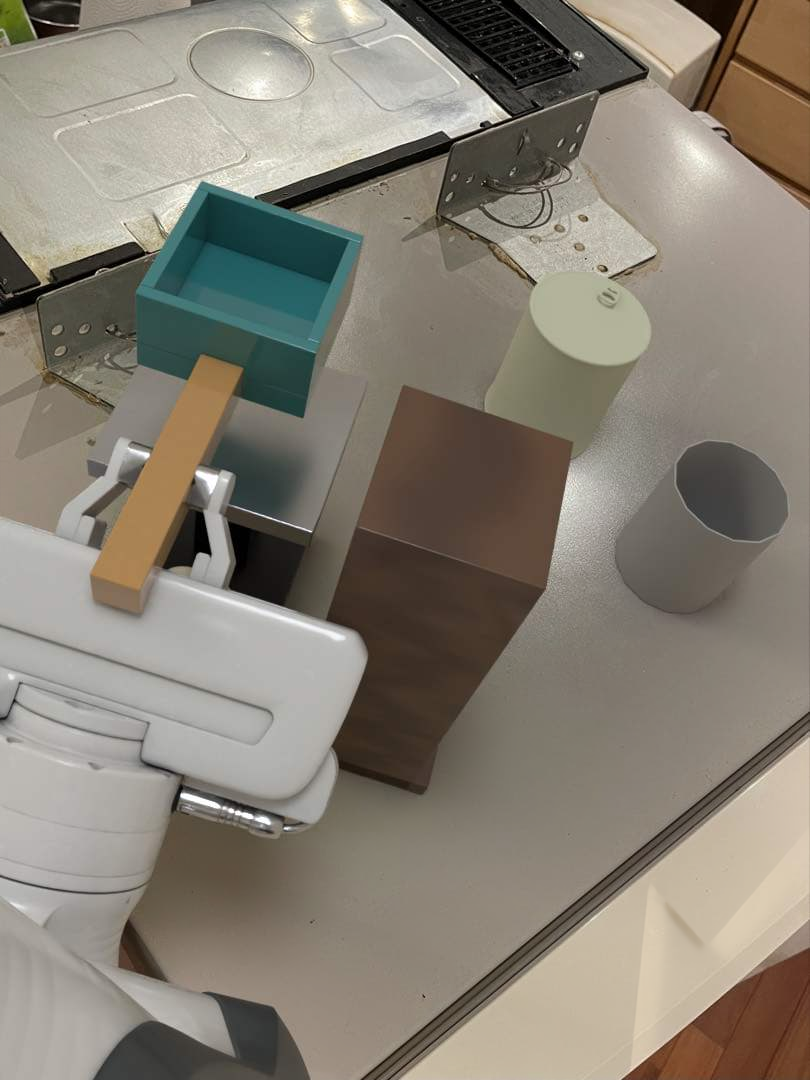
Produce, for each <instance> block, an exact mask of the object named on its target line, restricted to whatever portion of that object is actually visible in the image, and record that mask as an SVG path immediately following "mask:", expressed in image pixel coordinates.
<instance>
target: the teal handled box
mask: <svg viewBox="0 0 810 1080" xmlns="http://www.w3.org/2000/svg"><path fill="white" fill-rule="evenodd" d="M364 240H365V236H364V234H360V233H357V232H354V231H351V230H349V229H345V228H342V227H339V226H336V225H333V224H331V223H327V222H324V221H323V220H319V219H316V218H313V217H309V216H307V215H304V214H302V213H298V212H295V211H292V210H289V209H286V208H284V207H280V206H278V205H275V204H271V203H268V202H265V201H263V200H260V199H258V198H257V199H256V198H253V197H251V196H247V195H245V194H242V193H239V192H237V191H233V190H230V189H228V188H224V187H221V186H218V185H215V184H212V183H209V182H206V181H204V180H201V181H200V183H198V186H197V187H196V189H195V191H194V192H193V194H192V196H191V197H190V198H189V201H188V202H187V204H186V205H185V208H184V209H183V211H182V212H181V215H180V216H179V218H178V219H177V221H176V223H175V225H174V226H173V228H172V230H171V231H170V233H169V234H168V236H167V238H166V240H165V242H164V243H163V244H162V246H161V248H160V250H159V252H158V253H157V255H156V256H155V259H154V260H153V262H152V263H151V265H150V267H149V269H148V270H147V272H146V274H145V275H144V277H143V279H142V280H141V282H140V284H139V286H138V287H137V289H136V290H135V293H134V299H135V301H134V303H135V305H134V306H135V337H136V343H135V344H136V345H135V346H136V364H137V365H142V366H145V367H148V368H151V369H154V370H157V371H160V372H163V373H166V374H169V375H172V376H175V377H178V378H181V379H184V380H187V383H186V385H185V387H184V389H183V391H182V393H181V395H180V397H179V398H178V400H177V402H176V404H175V406H174V408H173V410H172V412H171V414H170V416H169V418H168V420H167V422H166V424H165V426H164V428H163V430H162V432H161V434H160V436H159V438H158V440H157V442H156V444H155V446H154V448H153V450H152V452H151V454H150V456H149V458H148V460H147V462H146V464H145V466H144V468H143V470H142V472H141V474H140V475H139V477H138V479H137V481H136V483H135V485H134V487H133V489H131V491H130V493H129V495H128V497H127V499H126V501H125V503H124V505H123V507H122V509H121V511H120V513H119V515H118V517H117V519H116V521H115V523H114V525H113V527H112V528H111V531H110V533H109V535H108V536H107V538H106V541H105V543H104V545H103V546H102V551H101V552H100V554H99V556H98V558H97V560H96V562H95V564H94V566H93V568H92V570H91V572H90V583H91V591H92V599H94V600H96V601H99V602H103V603H106V604H109V605H112V606H115V607H118V608H121V609H125V610H128V611H131V612H134V613H137V614H141V613H142V611H143V609H144V607H145V604H146V602H147V600H148V598H149V595H150V592H151V589H152V586H153V583H154V581H155V578H156V576H157V573H158V572H159V570H161V569H162V567H163V565H164V563H165V561H166V559H167V556H168V554H169V552H170V550H171V548H172V545H173V543H174V541H175V539H176V537H177V535H178V532H179V530H180V528H181V526H182V524H183V521H184V519H185V517H186V515H187V513H188V511H189V508H190V506H191V505H190V504H188V503H186V499H187V496H188V493H189V491H190V488H191V486H192V485H193V484H195V480H194V476H195V471H196V468H197V466H198V464H200V463H202V464H206V465H210V462H211V460H212V458H213V456H214V454H215V452H216V449H217V447H218V445H219V443H220V441H221V438H222V436H223V434H224V432H225V430H226V428H227V425H228V423H229V421H230V419H231V417H232V414H233V412H234V410H235V408H236V406H237V404H238V401H239V399H240V398H242V399H245V400H248V401H251V402H254V403H257V404H260V405H263V406H266V407H269V408H272V409H275V410H278V411H281V412H284V413H287V414H290V415H293V416H296V417H299V418H302V419H303V418H304V416H305V414H306V411H307V409H308V406H309V404H310V401H311V399H312V396H313V394H314V391H315V389H316V386H317V384H318V381H319V379H320V376H321V374H322V371H323V369H324V366H325V367H326V364H327V361H328V359H329V356H330V354H331V351H332V349H333V347H334V344H335V341H336V339H337V336H338V333H339V331H340V329H341V326H342V325H343V321H344V319H345V316H346V314H347V311H348V309H349V306H350V304H351V299H352V296H353V295H352V294H353V290H354V285H355V281H356V276H357V272H358V268H359V262H360V258H361V254H362V251H363V250H362V249H363V245H364Z"/></svg>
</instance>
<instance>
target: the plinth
mask: <svg viewBox="0 0 810 1080" xmlns="http://www.w3.org/2000/svg"><path fill="white" fill-rule="evenodd" d="M572 449H573V441H570V440H567V439H564V438H561V437H558V436H555V435H552V434H549V433H546V432H543V431H540V430H537V429H534V428H531V427H528V426H525V425H522V424H519V423H516V422H513V421H510V420H508V419H505V418H502V417H499V416H496V415H493V414H490V413H487V412H485V411H484V410H481V409H477V408H475V407H472V406H469V405H466V404H463V403H460V402H456V401H454V400H451V399H448V398H445V397H443V396H439V395H436V394H433V393H430V392H427V391H424V390H422V389H419V388H415V387H412V386H409V385H406V384H403V385H402V386H401V390H400V393H399V395H398V399H397V401H396V405H395V407H394V411H393V413H392V416H391V420H390V422H389V424H388V428H387V430H386V435H385V438H384V441H383V443H382V446H381V449H380V451H379V455H378V458H377V462H376V465H375V467H374V470H373V474H372V476H371V479H370V482H369V485H368V488H367V492H366V494H365V498H364V500H363V503H362V506H361V510H360V513H359V516H358V518H357V522H356V525H355V528H354V531H353V534H352V537H351V540H350V543H349V546H348V550H347V553H346V555H345V559H344V561H343V565H342V568H341V571H340V574H339V577H338V580H337V584H336V586H335V589H334V593H333V597H332V599H331V601H330V606H329V609H328V612H327V615H326V617H325V620H326V621H329V622H332V623H335V624H338V625H341V626H344V627H347V628H350V629H353V630H355V631H357V632H358V633H359V634H360V636H361V637H362V639H363V641H364V643H365V645H366V648H367V651H368V660H367V664H366V667H365V670H364V673H363V676H362V678H361V681H360V683H359V686H358V689H357V691H356V694H355V696H354V699H353V701H352V703H351V706H350V708H349V711H348V713H347V715H346V717H345V719H344V721H343V724H342V726H341V728H340V730H339V732H338V734H337V736H336V738H335V740H334V742H333V744H332V746H333V748H334V750H335V752H336V755H337V758H338V763H339V770H342V771H343V770H344V771H345V772H349V773H352V774H356V775H359V776H362V777H365V778H367V779H368V778H369V779H371V780H375V781H378V782H380V783H384V784H386V785H390V786H394V787H397V788H400V789H404V790H406V791H409V792H413V793H415V794H419V795H424V794H425V793H426V791H427V790H428V788H429V786H430V781H431V777H432V774H433V769H434V764H435V760H436V757H437V752H438V748H439V745H440V743H441V742H442V740H443V739H444V738H445V737H446V735H447V733H448V732H449V730H450V729H451V727H452V726H453V724H455V722H456V720H457V719H458V718H459V715H461V713H462V711H463V710H464V708H465V707H466V706H467V704H468V703H469V701H470V700H471V699H472V697H473V695H474V694H475V693H476V691H477V690H478V689H479V687H480V685H481V684H482V682H483V681H484V680H485V678H486V676H487V675H488V674H489V672H490V671H491V670H492V668H493V666H494V665H495V664H496V663H497V661H498V659H499V658H500V657H501V655H502V654H503V652H504V651H505V649H506V648H507V646H508V645H509V644H510V642H511V641H512V639H513V638H514V636H515V635H516V633H517V632H518V630H519V629H520V628H521V626H522V625H523V623H524V622H525V620H526V619H527V617H528V615H529V614H530V613H531V612H532V610H534V609H533V608H534V607H535V606H536V605H537V603H538V602H539V600H540V599H541V597H542V596H543V594H544V593H545V591H546V590H547V586H548V581H549V580H548V579H549V576H550V571H551V565H552V561H553V555H554V549H555V544H556V538H557V533H558V527H559V523H560V519H561V518H560V516H561V513H562V512H561V511H562V506H563V501H564V495H565V492H566V491H565V490H566V485H567V480H568V475H569V469H570V463H571V460H572V459H571V454H572Z"/></svg>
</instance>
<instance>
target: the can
mask: <svg viewBox="0 0 810 1080" xmlns="http://www.w3.org/2000/svg"><path fill="white" fill-rule="evenodd" d="M650 321H651V320H650V319H649V315H648V314H647V311H646V310H645V308H644V306H643V305H642V304H641V302H640V301H639V300H638V298H637V297H635V296H634V294H632V293H631V292H630V291H629V290H628V289H627V288H625V287H624V286H622V285H621V284H619V283H618V282H616V281H614V280H613V279H610V278H608V277H607V276H604V275H601V274H598V273H595V272H590V271H587V270H578V269H565V270H558V271H555V272H552V273H550V274H548V275H546V276H544V277H543V278H541V279H540V280H539V281H538V282H537V283H536V284H535V285H534V287H533V288H532V290H531V293H530V295H529V299H528V303H527V305H526V307H525V309H524V312H523V315H522V317H521V319H520V321H519V324H518V326H517V328H516V331H515V334H514V336H513V338H512V340H511V342H510V345H509V347H508V349H507V350H506V351H507V352H506V354H505V356H504V358H503V360H502V362H501V366H500V367H499V369H498V372H497V373H496V376H495V378H494V380H493V382H492V383H491V385H490V386H489V387H488V389H487V391H486V393H485V396H484V403H483V409H484V410H483V411H484V412H487V413H490V414H493V415H496V416H499V417H502V418H505V419H508V420H510V421H513V422H516V423H519V424H522V425H525V426H528V427H531V428H534V429H537V430H540V431H543V432H546V433H549V434H552V435H555V436H558V437H561V438H564V439H567V440H570V441H573V449H572V454H571V459H570V460H573V459H575V458H577V457H579V456H580V455H581V454H582V453H584V451H586V450H587V448H588V447H589V445H591V443H592V440H593V439H594V435H595V432H596V430H597V429H598V426H600V424H601V422H602V420H603V419H604V417H605V415H606V413H607V412H608V410H609V409H610V407H611V405H613V402H614V400H615V399H616V397H617V395H618V394H619V392H620V390H621V389H622V387H623V386H624V384H625V382H626V381H627V379H628V378H629V376H630V375H631V373H632V372H633V370H634V368H635V367H636V365H637V363H638V362H639V361H640V359H641V357H642V356H643V355H644V354H645V353H646V351H647V350H648V347H649V346H650V343H651V340H652V325H651V322H650Z"/></svg>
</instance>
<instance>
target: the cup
mask: <svg viewBox="0 0 810 1080" xmlns="http://www.w3.org/2000/svg"><path fill="white" fill-rule="evenodd" d="M790 508H791V507H790V494H789V492H788V490H787V489H786V487H785V485H784V483H783V481H782V479H781V478H780V475H779V474H778V472H777V470H775V469H774V468H773V467H772V466H771V465H770V464H769V463H767V462H766V460H764V459H763V457H761V455H759V454H757V452H755V451H752V450H750V449H748V448H746V447H744V446H742V445H740V444H738V443H735V442H733V441H729V440H718V439H706V438H705V439H703V440H701V441H698V442H695V443H692V444H689V445H687V446H686V447H685V448H684V449H683V450H682V452H681V453H680V454H679V456H678V457H677V459H676V460H675V461H674V462H673V464H672V465H671V466H670V468H668V471H667V472H666V473H665V475H663V477H662V478H661V480H660V481H659V482H658V483H657V485H655V487H654V489H653V490H652V491H651V493H650V494H649V496H648V497H647V498H646V499H645V501H644V502H643V503H642V505H641V506H640V508H639V509H638V510H637V512H636V513H635V514H634V516H633V517H632V518H631V520H630V521H629V522H628V524H627V525H626V526H625V528H624V529H623V530H622V532H621V533H620V535H619V536H618V537H617V538H616V544H615V563H616V565H617V567H618V570H619V572H620V575H621V577H622V580H623V581H624V583H625V584H626V585H627V586H628V588H630V589H631V591H632V592H634V594H636V596H638V597H639V599H641V600H642V602H644V603H647V604H648V605H651V606H653V607H654V608H656V609H659V610H661V611H663V612H665V613H674V614H675V613H678V614H692V613H694V612H697V611H699V610H700V609H703V608H705V607H707V606H709V605H710V604H711V603H713V601H714V600H716V598H717V597H718V596H720V595H721V593H723V591H724V590H725V589H726V588H728V586H729V585H731V584H732V583H733V582H734V580H736V578H738V577H739V576H740V574H742V572H744V571H745V570H746V568H748V567H749V565H751V564H752V563H753V562H754V561H755V560H756V559H757V558H758V557H759V556H760V555H761V554H762V553H763V552H764V550H766V549H767V548H768V547H769V546H770V545H771V544H772V543H773V542H774V541H775V540H776V539H777V538H778V537H779V536H780V535H781V533H782V532H783V530H784V528H785V526H786V524H787V523H788V521H789V519H790V518H791V511H790Z"/></svg>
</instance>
